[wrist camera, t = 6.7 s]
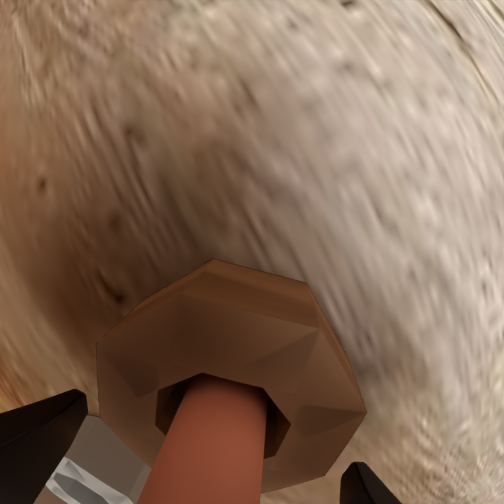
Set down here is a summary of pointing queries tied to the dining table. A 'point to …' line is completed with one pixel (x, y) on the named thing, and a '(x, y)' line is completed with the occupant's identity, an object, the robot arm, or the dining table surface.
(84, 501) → the slate bead
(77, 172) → the dining table surface
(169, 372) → the walnut bead
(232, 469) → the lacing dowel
